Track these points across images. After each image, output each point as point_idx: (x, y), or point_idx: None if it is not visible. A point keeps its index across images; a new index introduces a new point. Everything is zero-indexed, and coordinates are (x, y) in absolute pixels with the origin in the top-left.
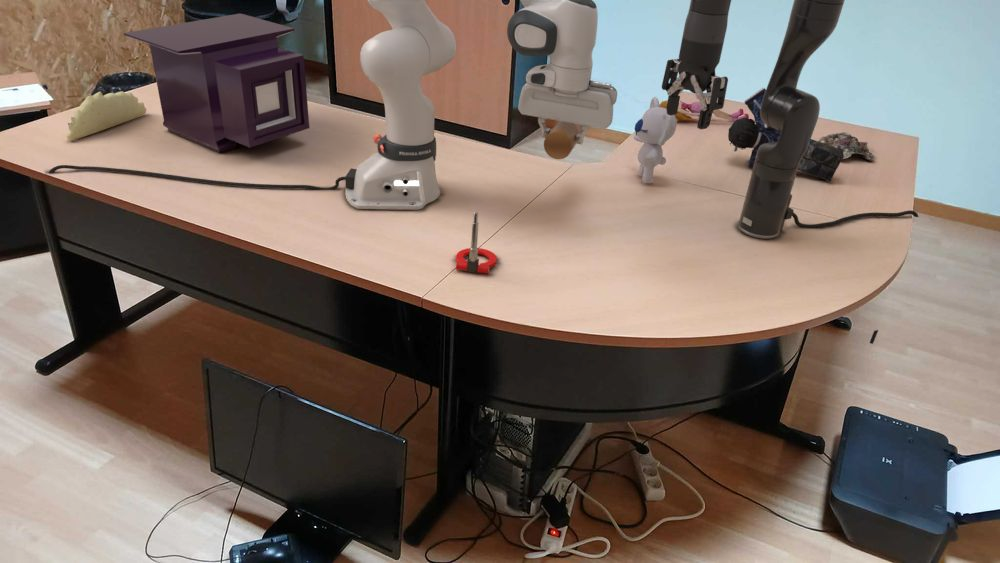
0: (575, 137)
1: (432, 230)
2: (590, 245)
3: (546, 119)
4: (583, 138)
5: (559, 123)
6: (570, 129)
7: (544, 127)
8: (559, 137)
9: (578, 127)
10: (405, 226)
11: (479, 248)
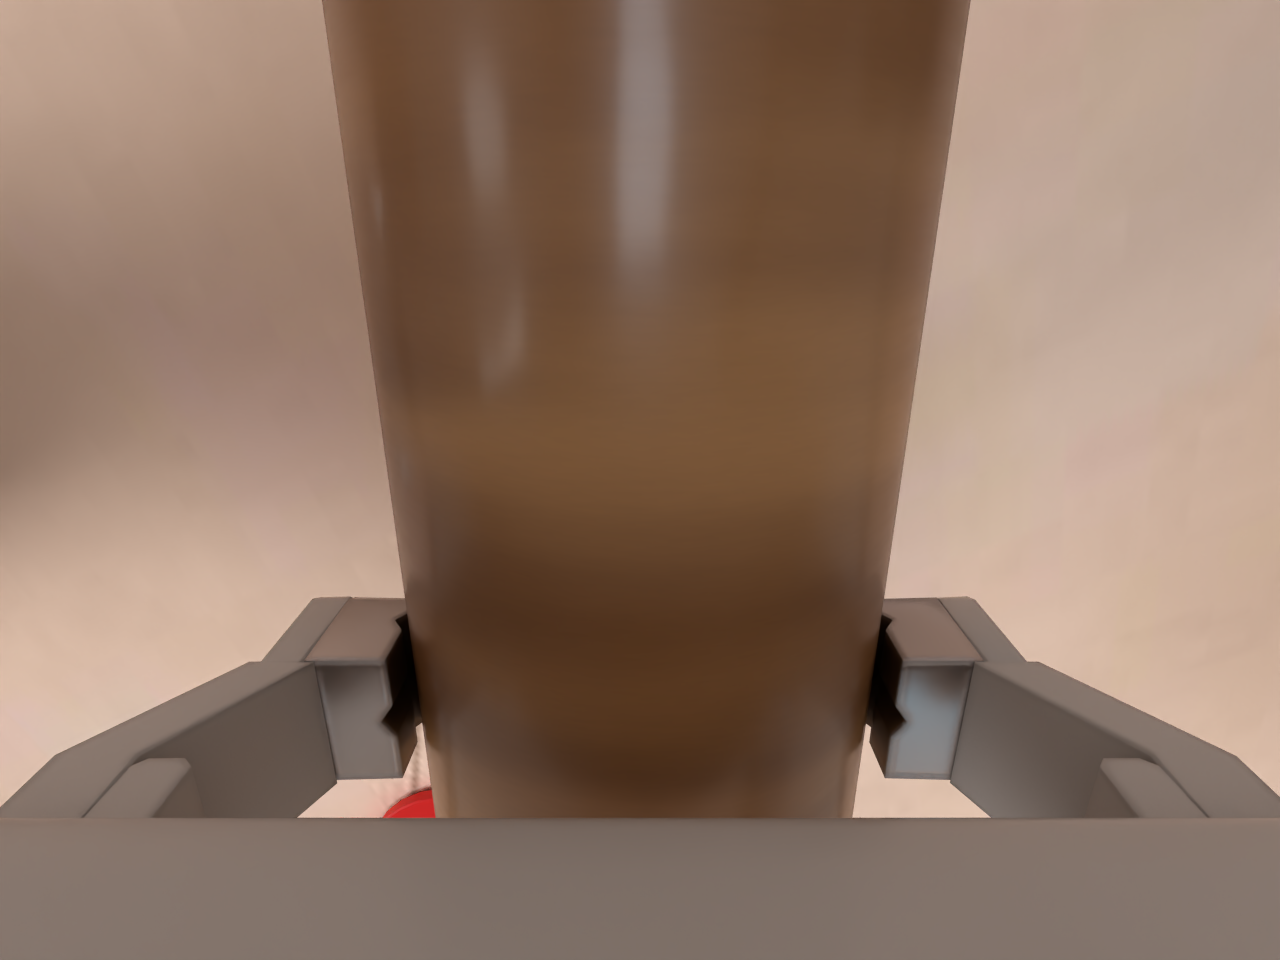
0: (867, 710)
1: (159, 703)
2: (890, 558)
3: (193, 779)
4: (992, 624)
5: (500, 649)
6: (790, 811)
7: (293, 790)
8: None
9: (899, 415)
10: (37, 715)
11: (429, 802)
